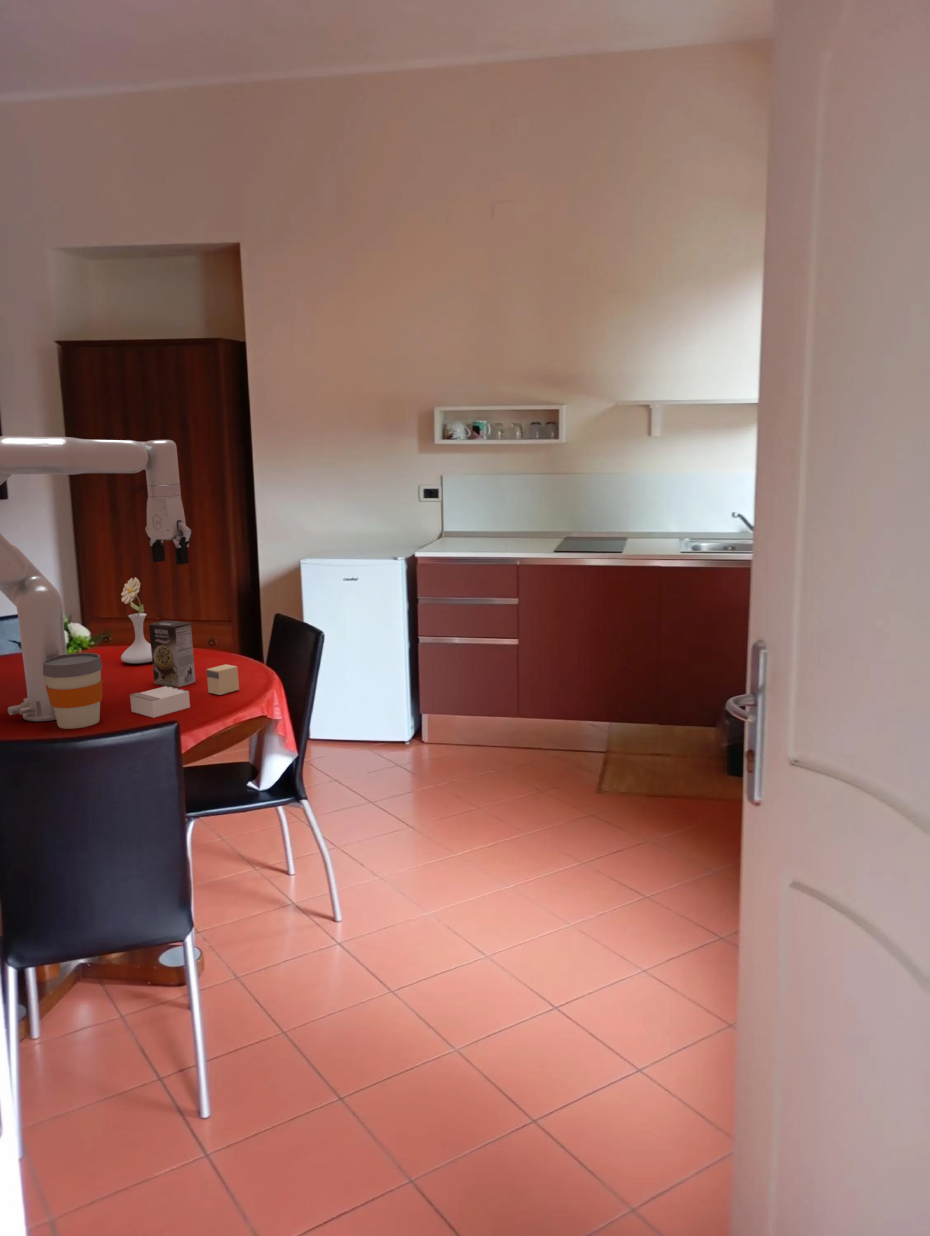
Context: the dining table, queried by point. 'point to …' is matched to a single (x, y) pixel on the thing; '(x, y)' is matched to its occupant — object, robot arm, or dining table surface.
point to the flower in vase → (136, 627)
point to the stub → (222, 679)
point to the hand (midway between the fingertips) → (170, 562)
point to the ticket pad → (160, 701)
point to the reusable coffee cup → (74, 688)
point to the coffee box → (172, 653)
